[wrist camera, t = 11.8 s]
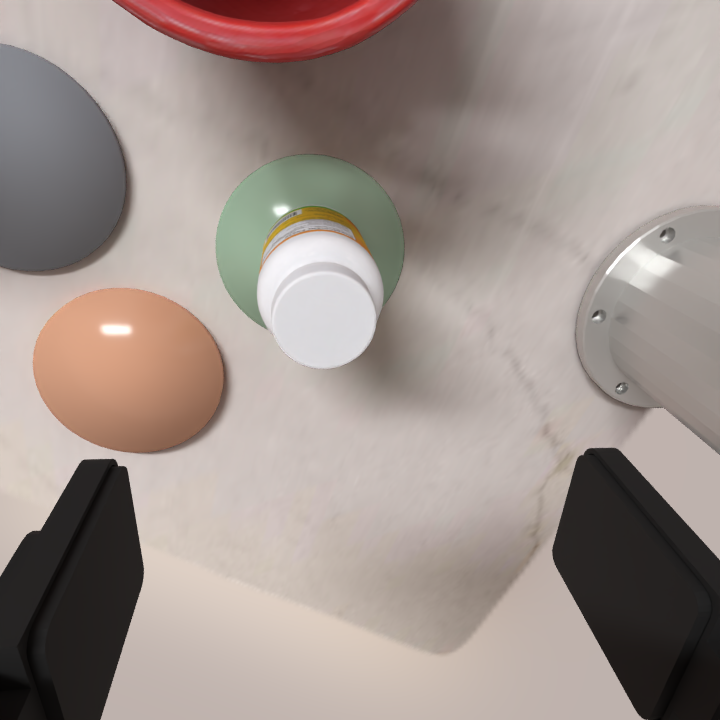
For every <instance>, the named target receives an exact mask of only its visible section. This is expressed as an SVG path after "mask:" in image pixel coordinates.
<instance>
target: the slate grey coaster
mask: <svg viewBox="0 0 720 720" xmlns="http://www.w3.org/2000/svg"><path fill="white" fill-rule="evenodd" d="M125 193H126V172H125V165H124V159H123V155H122V152H121V148H120V145H119V142H118V140H117V137H116V135H115V132H114V130H113V128H112V127H111V125H110V123H109V121H108V119H107V117H106V116H105V114H104V113H103V111H102V110H101V109H100V107H99V106H98V104H97V103H96V102H95V101H94V99H93V98H92V97H91V96H90V95H89V94H88V92H87V91H86V90H85V89H84V88H83V87H82V86H81V85H80V84H79V83H77V82H76V81H75V80H74V79H73V78H72V77H71V76H69V75H68V74H67V73H65V72H64V71H63V70H61V69H60V68H59V67H57V66H56V65H54V64H52V63H51V62H49V61H47V60H46V59H44V58H42V57H40V56H38V55H35V54H33V53H31V52H29V51H26V50H23V49H20V48H17V47H14V46H11V45H6V44H0V266H1V267H5V268H9V269H15V270H23V271H44V270H53V269H57V268H61V267H65V266H68V265H70V264H73V263H75V262H78V261H80V260H81V259H83V258H85V257H86V256H88V255H89V254H91V253H92V252H93V251H94V250H96V249H97V248H98V247H99V246H101V245H102V243H103V242H104V241H105V240H106V239H107V238H108V237H109V236H110V234H111V232H112V231H113V229H114V228H115V226H116V224H117V222H118V220H119V218H120V215H121V212H122V209H123V205H124V201H125Z"/></svg>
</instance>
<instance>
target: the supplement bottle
mask: <svg viewBox="0 0 720 720" xmlns="http://www.w3.org/2000/svg"><path fill="white" fill-rule="evenodd" d="M383 297H384V290H383V282H382V278H381V275H380V272H379V269H378V267H377V265H376V263H375V261H374V259H373V257H372V255H371V253H370V251H369V249H368V247H367V245H366V244H365V242H364V240H363V238H362V236H361V234H360V232H359V231H358V229H357V228H356V226H355V225H354V224H353V222H352V221H351V220H350V219H349V218H347V217H346V216H345V215H344V214H342V213H340V212H339V211H337V210H335V209H332V208H329V207H326V206H322V205H306V206H301V207H297V208H295V209H292V210H290V211H288V212H286V213H285V214H284V215H282V216H281V217H280V218H279V219H278V220H277V221H276V222H275V223H274V224H273V225H272V227H271V228H270V230H269V232H268V234H267V236H266V239H265V242H264V246H263V251H262V258H261V265H260V271H259V277H258V284H257V302H258V308H259V311H260V314H261V317H262V319H263V321H264V323H265V325H266V327H267V328H268V330H269V331H270V332H271V333H272V335H273V336H274V337H275V340H276V342H277V343H278V345H279V347H280V348H281V350H282V351H283V352H284V353H285V354H286V355H287V356H288V357H289V358H291V359H292V360H294V361H295V362H297V363H299V364H301V365H303V366H306V367H310V368H315V369H332V368H337V367H340V366H343V365H345V364H348V363H349V362H351V361H353V360H354V359H356V358H357V357H358V356H360V355H361V354H362V353H363V352H364V351H365V349H366V348H367V347H368V345H369V344H370V342H371V340H372V338H373V335H374V333H375V329H376V322H377V320H378V317H379V315H380V312H381V309H382V305H383Z"/></svg>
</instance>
